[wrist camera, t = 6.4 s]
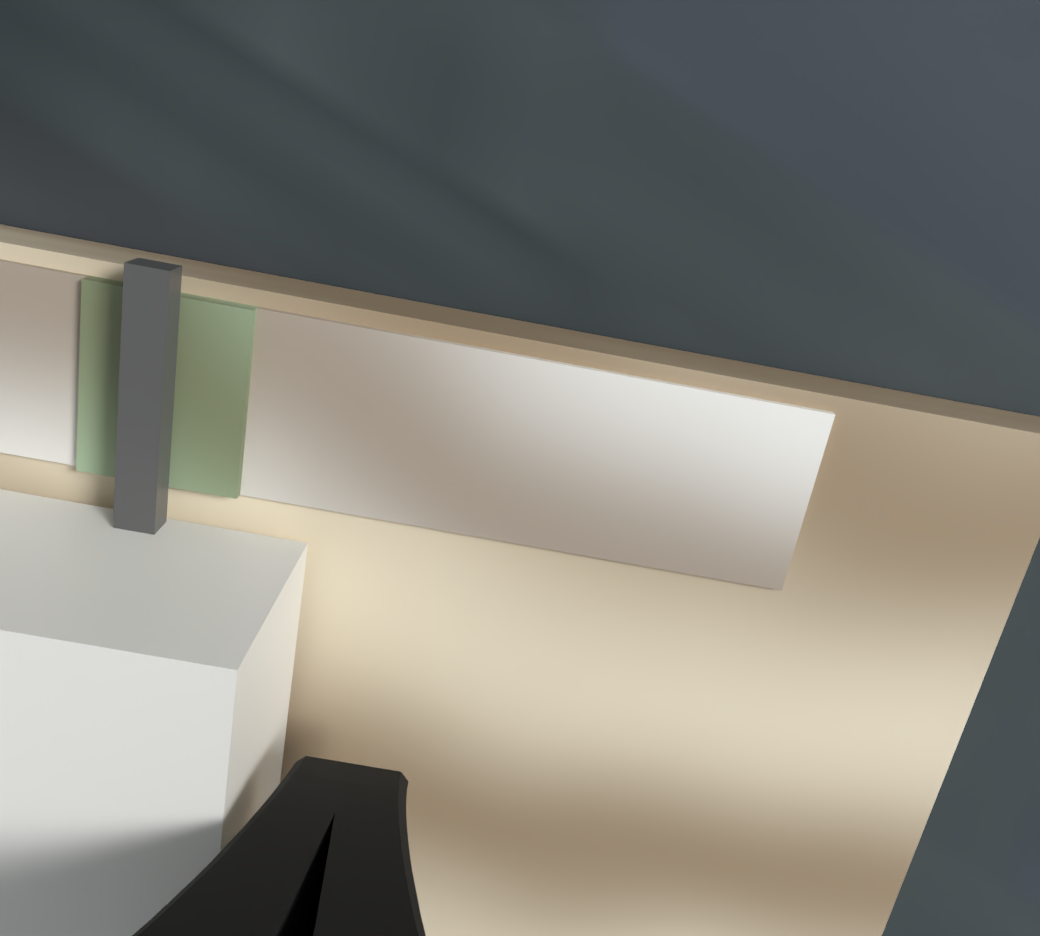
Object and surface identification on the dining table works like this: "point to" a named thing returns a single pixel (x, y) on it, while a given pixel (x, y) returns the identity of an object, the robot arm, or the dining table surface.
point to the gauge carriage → (134, 669)
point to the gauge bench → (571, 583)
